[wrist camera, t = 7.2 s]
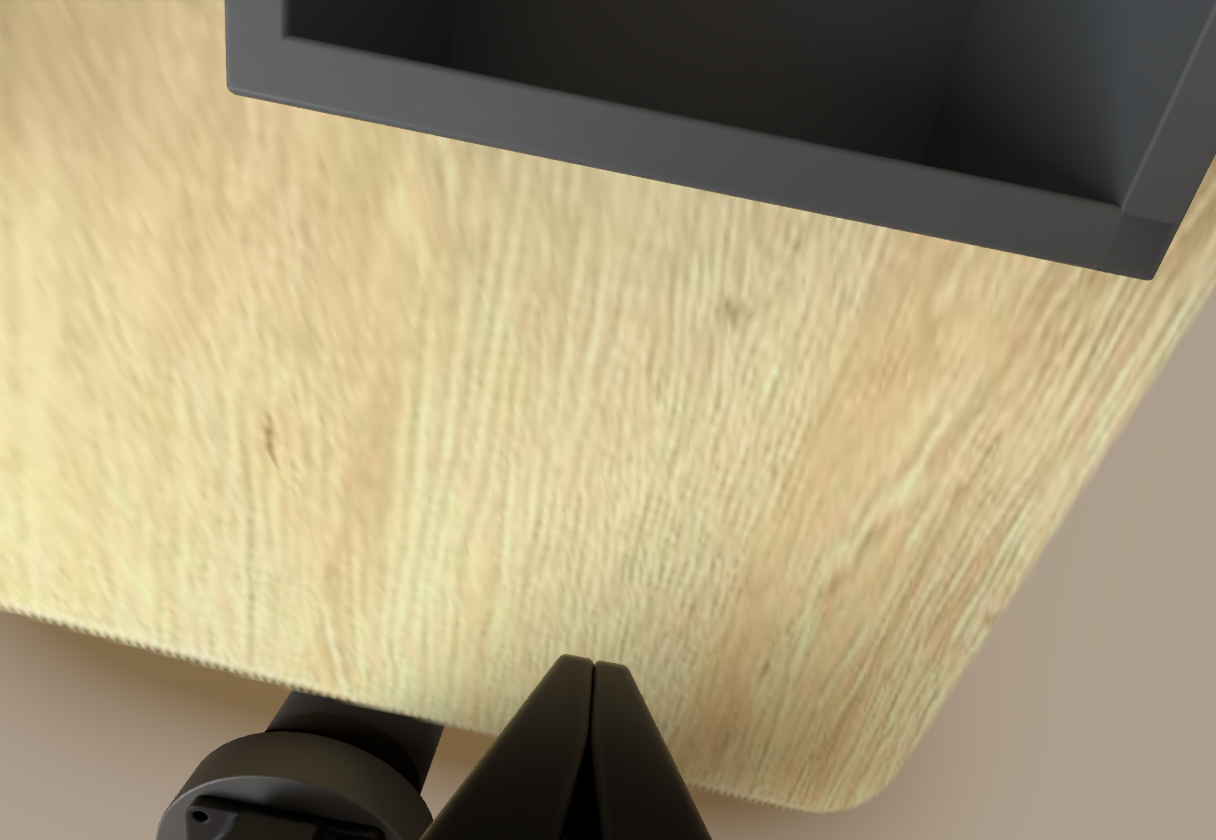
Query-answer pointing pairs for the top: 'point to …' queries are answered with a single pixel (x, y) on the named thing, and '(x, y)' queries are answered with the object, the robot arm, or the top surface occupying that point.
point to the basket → (797, 102)
